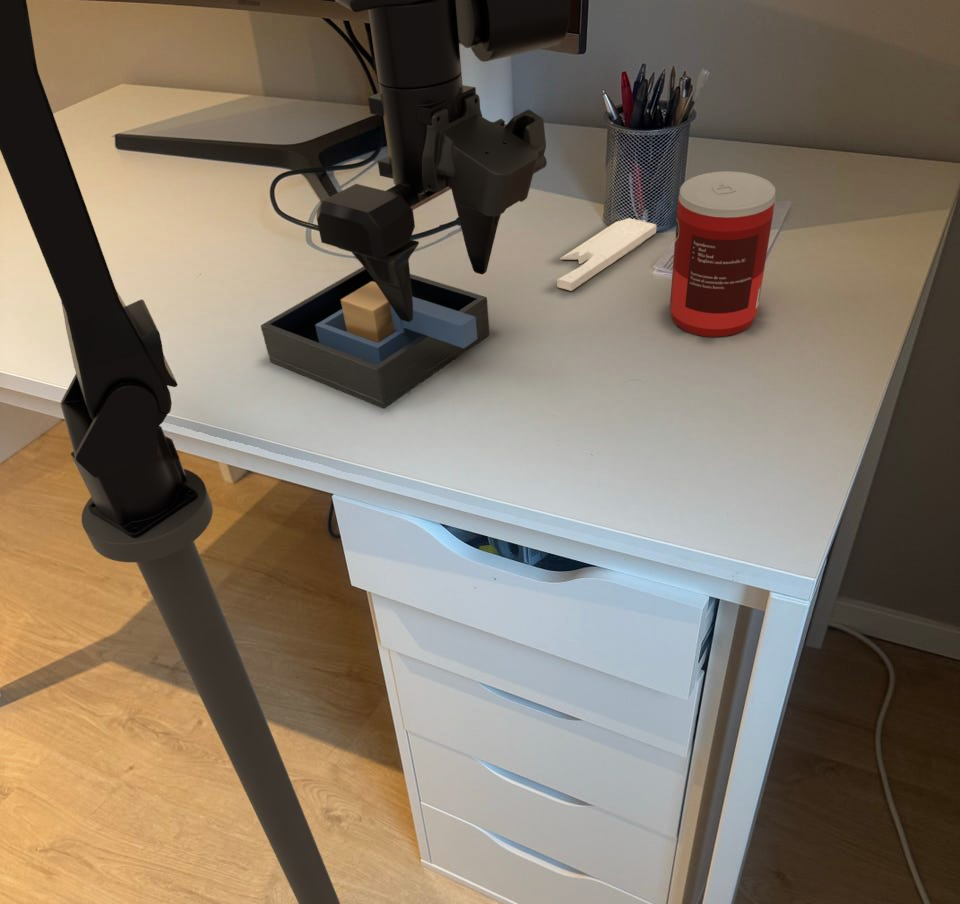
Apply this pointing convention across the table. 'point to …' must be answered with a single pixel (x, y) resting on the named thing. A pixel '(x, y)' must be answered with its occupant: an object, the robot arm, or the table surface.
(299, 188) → the table surface
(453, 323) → the scoop
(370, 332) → the block
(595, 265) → the white plastic blade
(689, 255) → the canned food
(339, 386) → the black square tray
